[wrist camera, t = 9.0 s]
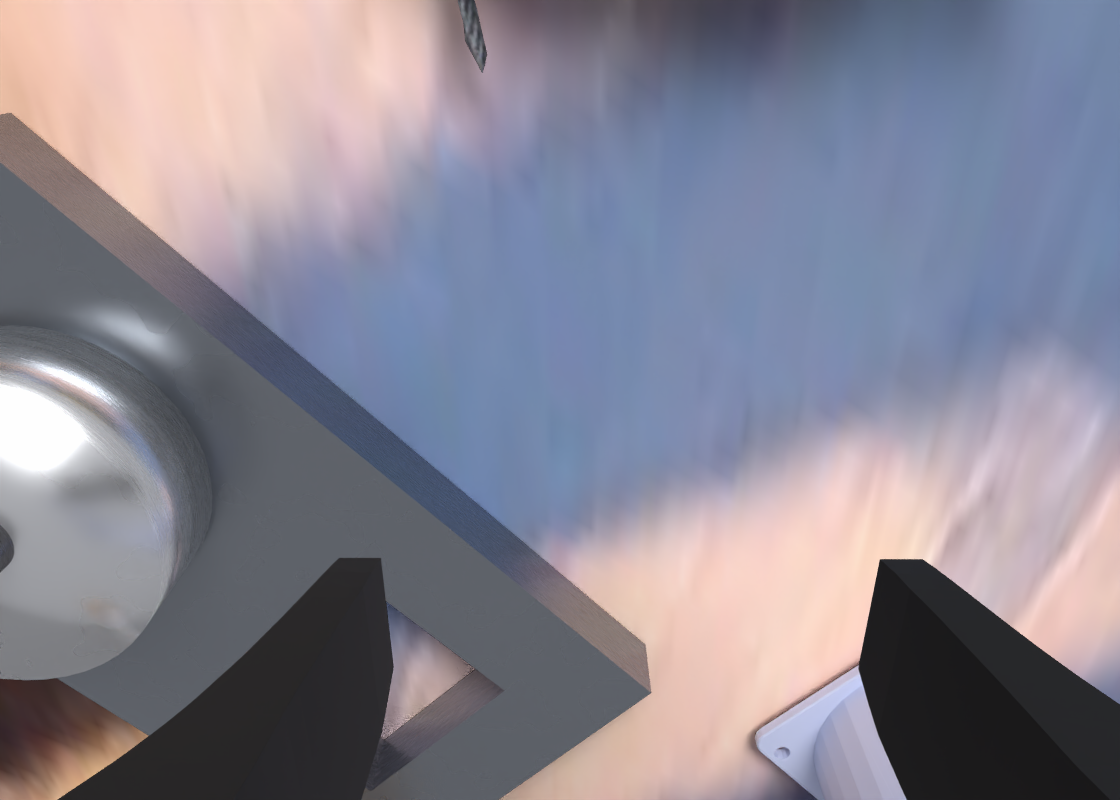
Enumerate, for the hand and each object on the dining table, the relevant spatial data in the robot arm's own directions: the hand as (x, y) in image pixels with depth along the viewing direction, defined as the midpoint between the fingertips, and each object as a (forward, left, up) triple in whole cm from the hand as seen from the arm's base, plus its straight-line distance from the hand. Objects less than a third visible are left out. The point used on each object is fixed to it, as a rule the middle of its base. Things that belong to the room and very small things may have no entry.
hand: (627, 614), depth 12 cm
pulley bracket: (+3, +12, -10) cm, 16 cm away
